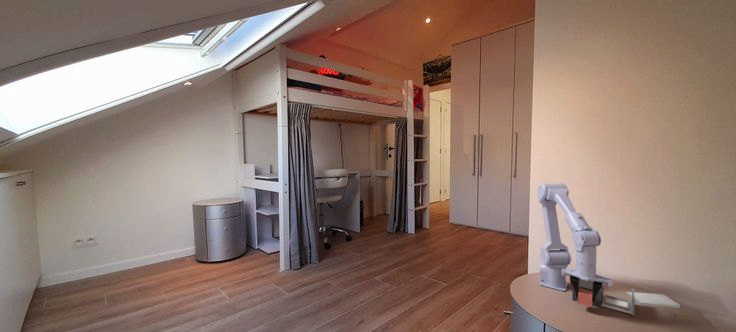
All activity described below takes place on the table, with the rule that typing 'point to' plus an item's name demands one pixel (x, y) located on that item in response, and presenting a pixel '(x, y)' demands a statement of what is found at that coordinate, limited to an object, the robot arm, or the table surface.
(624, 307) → the tray
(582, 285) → the player housing
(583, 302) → the block
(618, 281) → the table surface
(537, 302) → the table surface
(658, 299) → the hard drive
